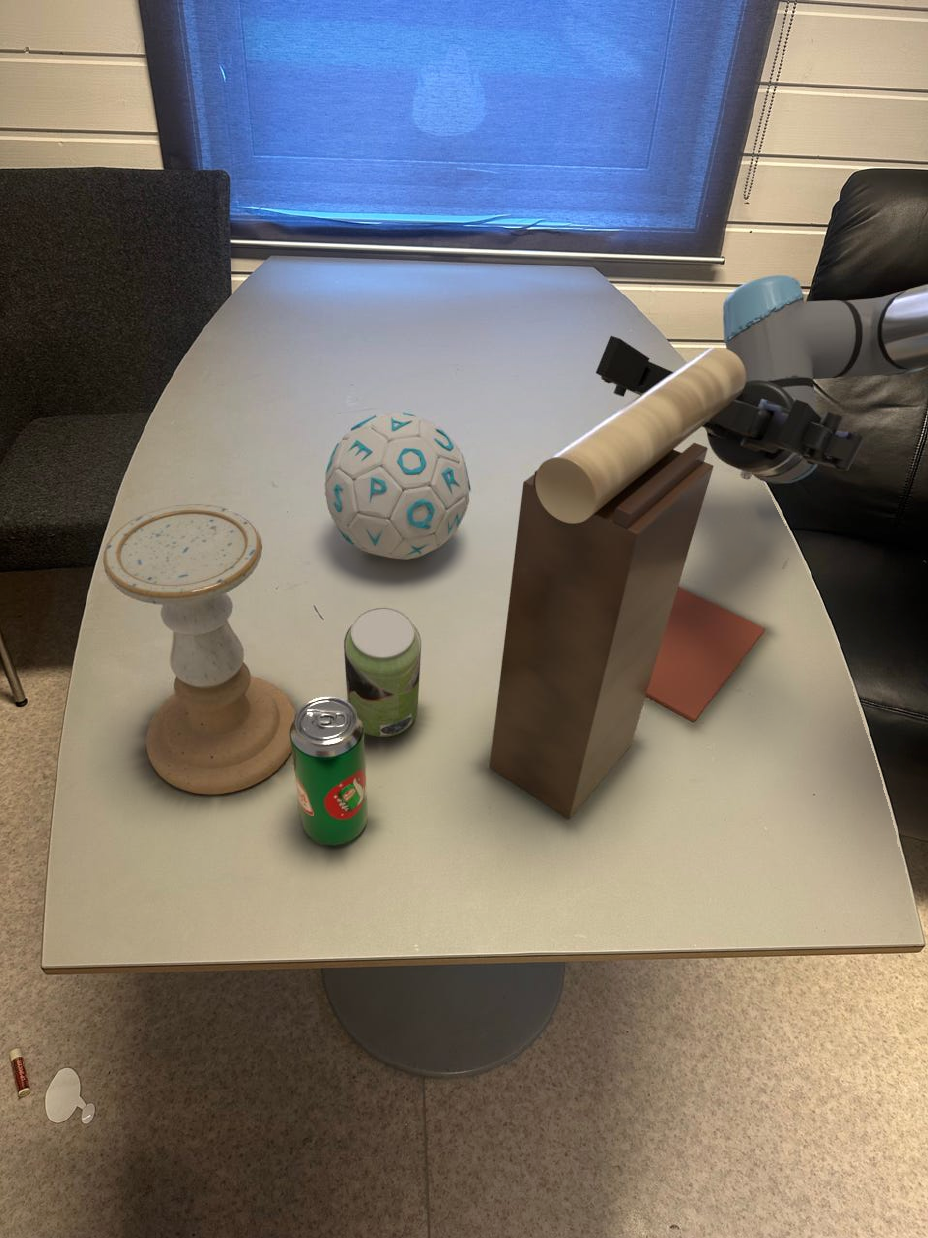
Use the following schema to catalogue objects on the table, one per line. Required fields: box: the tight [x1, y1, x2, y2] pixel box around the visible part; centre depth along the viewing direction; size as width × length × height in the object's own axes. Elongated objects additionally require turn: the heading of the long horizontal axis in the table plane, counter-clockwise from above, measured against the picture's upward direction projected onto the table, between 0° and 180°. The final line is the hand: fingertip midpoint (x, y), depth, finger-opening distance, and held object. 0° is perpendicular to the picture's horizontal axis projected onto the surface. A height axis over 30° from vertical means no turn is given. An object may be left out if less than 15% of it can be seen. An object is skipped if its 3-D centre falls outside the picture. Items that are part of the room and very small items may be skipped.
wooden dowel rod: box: [535, 347, 746, 523], centre depth 52 cm, size 20×4×4 cm, turn 142°
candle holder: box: [102, 503, 297, 795], centre depth 63 cm, size 12×12×20 cm
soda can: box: [290, 696, 369, 846], centre depth 60 cm, size 5×5×12 cm
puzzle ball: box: [324, 412, 472, 561], centre depth 86 cm, size 15×15×15 cm
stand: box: [489, 442, 714, 820], centre depth 60 cm, size 8×10×29 cm
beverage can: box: [343, 606, 422, 738], centre depth 68 cm, size 6×7×12 cm
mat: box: [646, 586, 766, 723], centre depth 81 cm, size 12×16×1 cm
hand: (694, 386), depth 55 cm, fingers open, 13 cm apart
